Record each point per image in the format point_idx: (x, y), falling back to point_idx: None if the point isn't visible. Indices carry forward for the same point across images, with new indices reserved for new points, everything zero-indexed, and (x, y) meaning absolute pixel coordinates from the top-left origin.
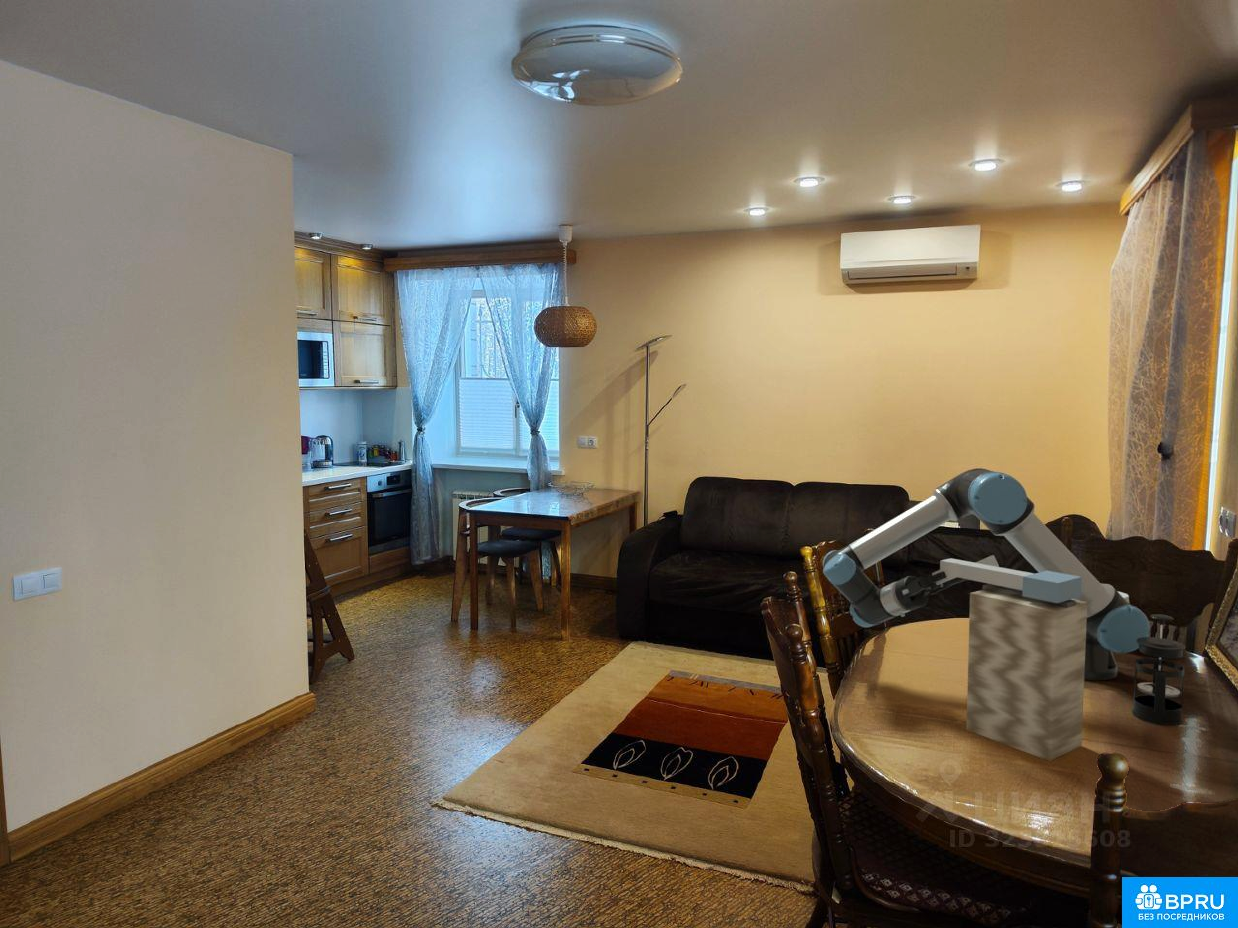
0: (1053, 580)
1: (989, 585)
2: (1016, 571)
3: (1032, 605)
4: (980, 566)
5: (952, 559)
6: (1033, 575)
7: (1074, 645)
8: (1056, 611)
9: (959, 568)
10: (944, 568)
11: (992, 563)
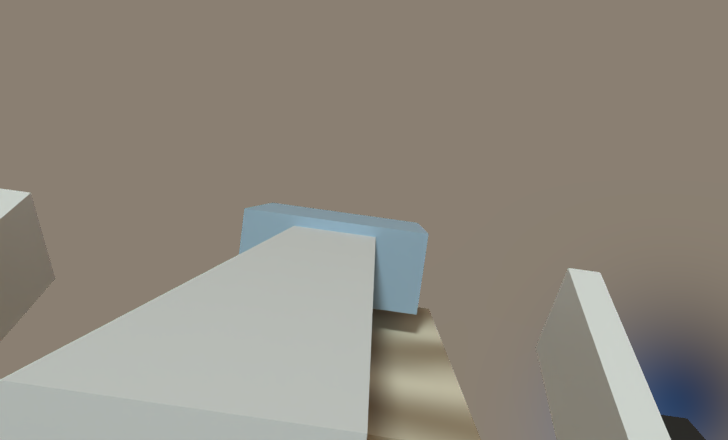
0: (395, 221)
1: None
2: (303, 238)
3: (421, 329)
4: (320, 274)
5: (117, 363)
6: (375, 225)
7: None
8: (422, 308)
9: (555, 309)
10: (639, 376)
11: (30, 264)
